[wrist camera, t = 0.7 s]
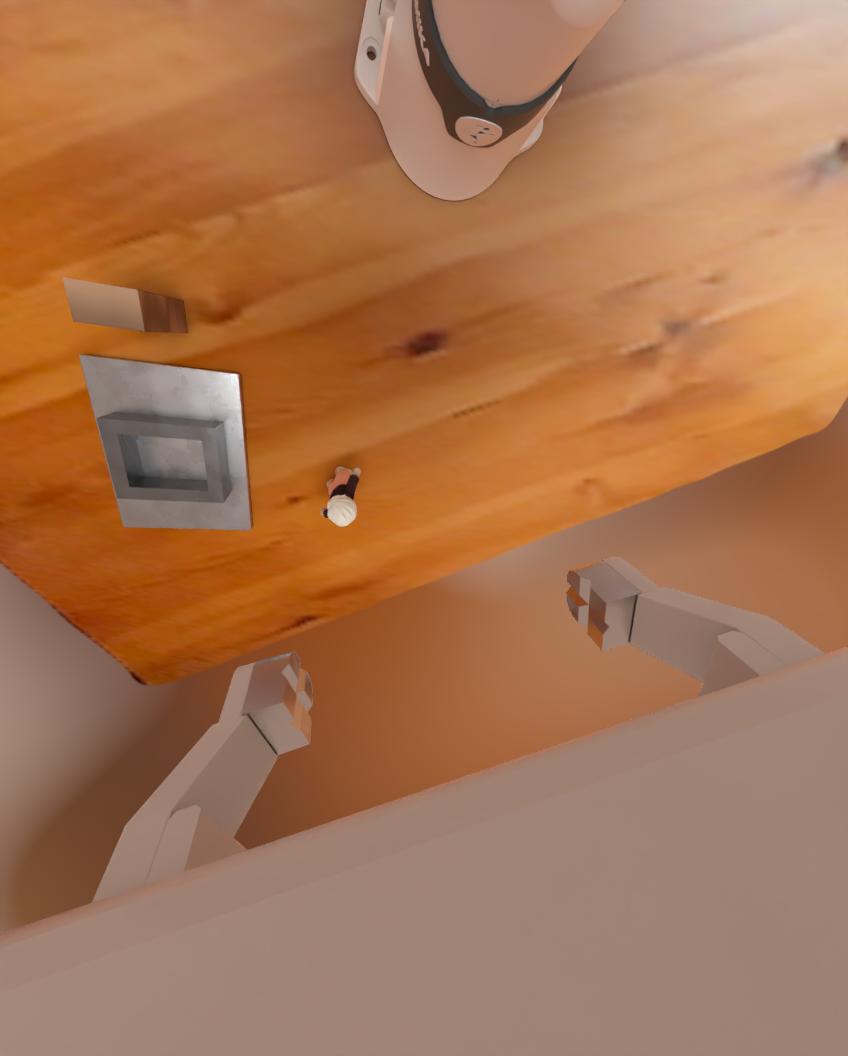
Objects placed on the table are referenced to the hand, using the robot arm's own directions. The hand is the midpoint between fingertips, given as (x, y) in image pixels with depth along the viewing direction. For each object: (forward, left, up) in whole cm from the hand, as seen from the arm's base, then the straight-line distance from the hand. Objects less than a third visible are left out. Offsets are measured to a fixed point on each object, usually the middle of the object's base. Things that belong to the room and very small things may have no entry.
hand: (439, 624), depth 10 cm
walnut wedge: (-7, -21, -41) cm, 47 cm away
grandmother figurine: (+10, -2, -41) cm, 43 cm away
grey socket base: (+8, -21, -41) cm, 47 cm away
